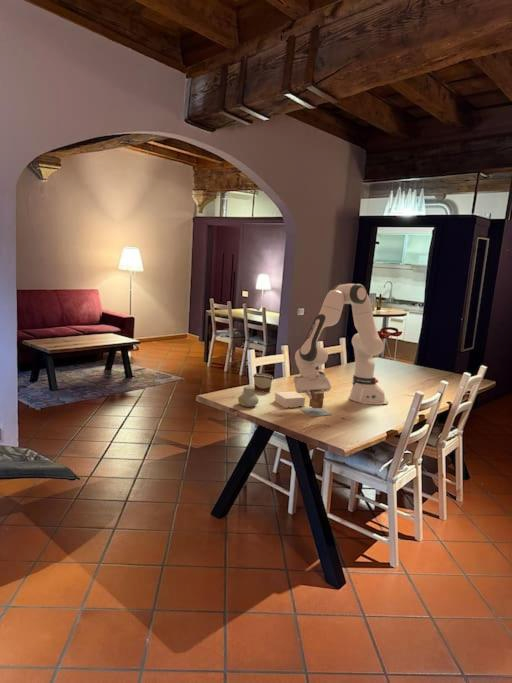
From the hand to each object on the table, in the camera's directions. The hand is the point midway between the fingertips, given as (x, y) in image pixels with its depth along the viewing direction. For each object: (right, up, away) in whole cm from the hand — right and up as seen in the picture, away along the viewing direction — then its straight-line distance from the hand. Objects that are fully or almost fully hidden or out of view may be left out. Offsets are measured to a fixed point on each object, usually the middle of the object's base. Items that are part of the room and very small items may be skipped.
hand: (317, 398), depth 243 cm
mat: (-1, -7, +2) cm, 8 cm away
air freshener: (-36, -4, +6) cm, 37 cm away
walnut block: (-1, -4, +1) cm, 5 cm away
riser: (-14, -4, +14) cm, 20 cm away
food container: (-28, 0, +37) cm, 46 cm away
